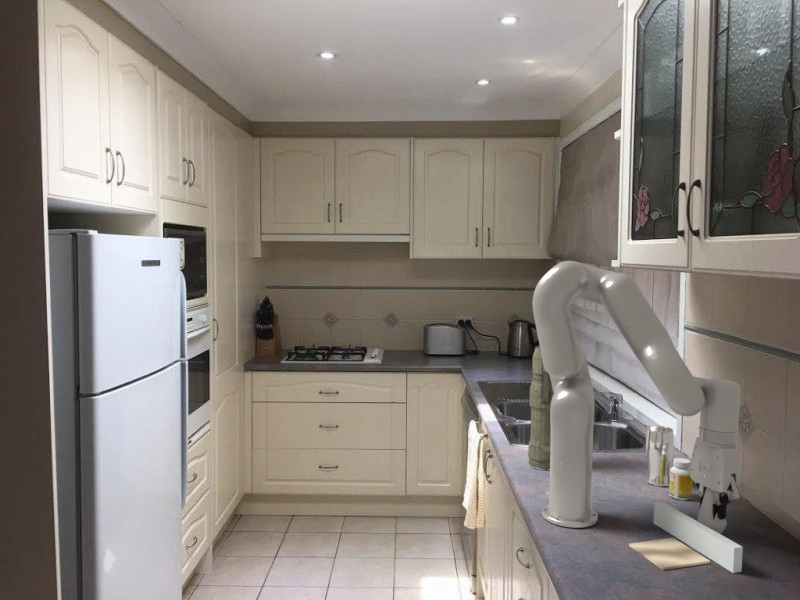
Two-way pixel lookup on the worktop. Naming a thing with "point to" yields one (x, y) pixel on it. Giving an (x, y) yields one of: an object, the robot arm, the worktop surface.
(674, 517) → the acrylic wall
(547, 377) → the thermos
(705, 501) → the salt shaker
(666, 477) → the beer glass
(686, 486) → the supplement bottle
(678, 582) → the worktop surface
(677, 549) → the coaster board
